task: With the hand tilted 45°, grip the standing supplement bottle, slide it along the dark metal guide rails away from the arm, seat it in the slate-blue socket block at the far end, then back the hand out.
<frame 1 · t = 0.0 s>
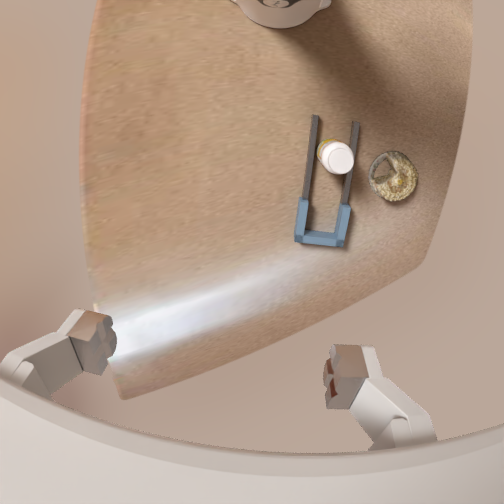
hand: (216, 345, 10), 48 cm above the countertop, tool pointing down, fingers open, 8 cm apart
socket block: (321, 215, 58), on the countertop
cake: (391, 175, 53), on the countertop
guide rails: (329, 159, 53), on the countertop
supplement bottle: (330, 152, 52), on the countertop
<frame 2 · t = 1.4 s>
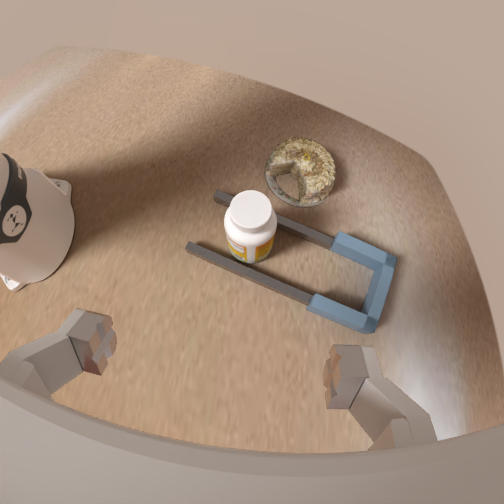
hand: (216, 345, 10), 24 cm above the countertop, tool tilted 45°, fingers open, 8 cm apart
socket block: (344, 283, 36), on the countertop
cake: (300, 176, 41), on the countertop
guide rails: (260, 247, 37), on the countertop
supplement bottle: (250, 243, 38), on the countertop
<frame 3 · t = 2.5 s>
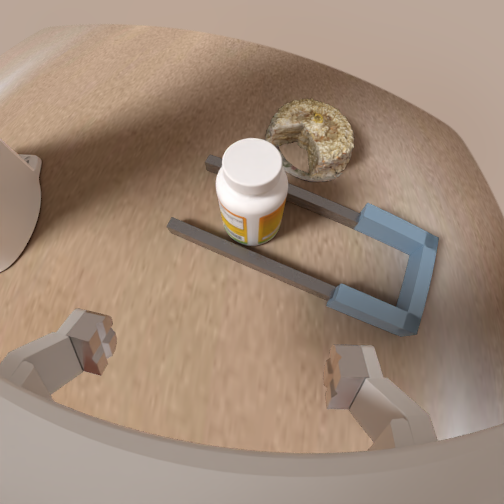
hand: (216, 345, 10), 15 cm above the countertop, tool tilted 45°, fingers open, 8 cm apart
socket block: (373, 272, 27), on the countertop
cake: (309, 146, 32), on the countertop
guide rails: (265, 225, 28), on the countertop
supplement bottle: (251, 220, 29), on the countertop
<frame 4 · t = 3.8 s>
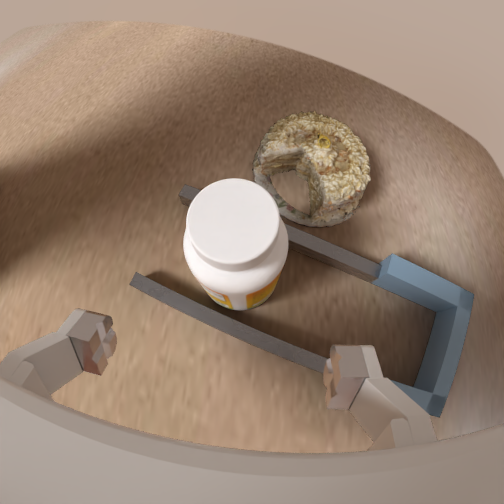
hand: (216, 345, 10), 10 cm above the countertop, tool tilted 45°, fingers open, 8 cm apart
socket block: (393, 337, 20), on the countertop
cake: (311, 175, 25), on the countertop
guide rails: (257, 281, 22), on the countertop
supplement bottle: (240, 274, 22), on the countertop
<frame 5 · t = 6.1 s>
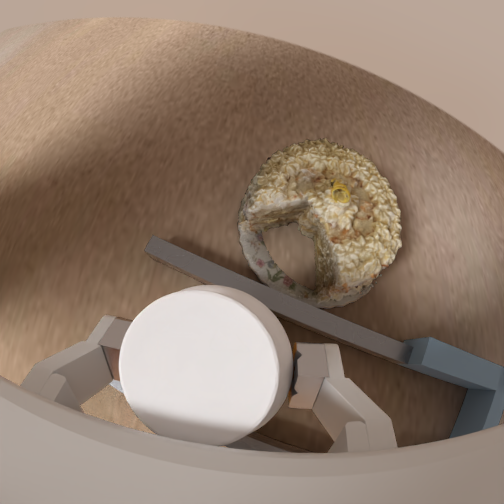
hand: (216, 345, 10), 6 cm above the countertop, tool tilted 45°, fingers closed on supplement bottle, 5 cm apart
socket block: (416, 425, 14), on the countertop
cake: (318, 229, 19), on the countertop
guide rails: (250, 368, 16), on the countertop
supplement bottle: (227, 358, 16), on the countertop, touching gripper
when the fingers open (6 cm above the countertop, at t = 11.3 s): supplement bottle stays where it is, on the countertop.
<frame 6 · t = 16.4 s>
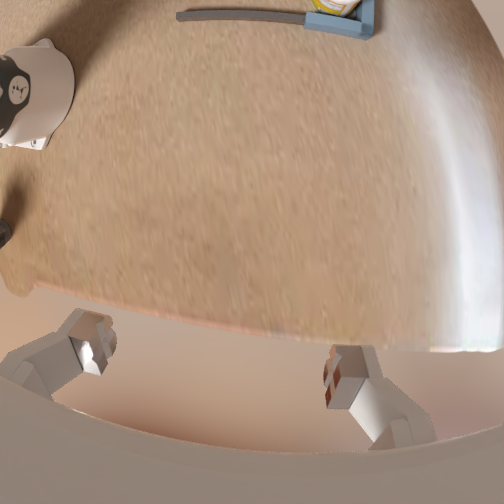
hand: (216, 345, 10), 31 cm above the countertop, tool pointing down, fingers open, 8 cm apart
socket block: (331, 2, 27), on the countertop
beverage cup: (5, 230, 46), on the countertop
supplement bottle: (331, 2, 27), on the countertop
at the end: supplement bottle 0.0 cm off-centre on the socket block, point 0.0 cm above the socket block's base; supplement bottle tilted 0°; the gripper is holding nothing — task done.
